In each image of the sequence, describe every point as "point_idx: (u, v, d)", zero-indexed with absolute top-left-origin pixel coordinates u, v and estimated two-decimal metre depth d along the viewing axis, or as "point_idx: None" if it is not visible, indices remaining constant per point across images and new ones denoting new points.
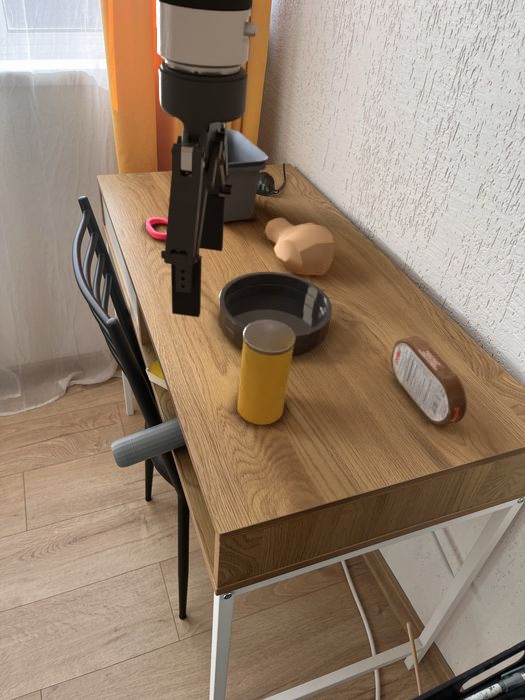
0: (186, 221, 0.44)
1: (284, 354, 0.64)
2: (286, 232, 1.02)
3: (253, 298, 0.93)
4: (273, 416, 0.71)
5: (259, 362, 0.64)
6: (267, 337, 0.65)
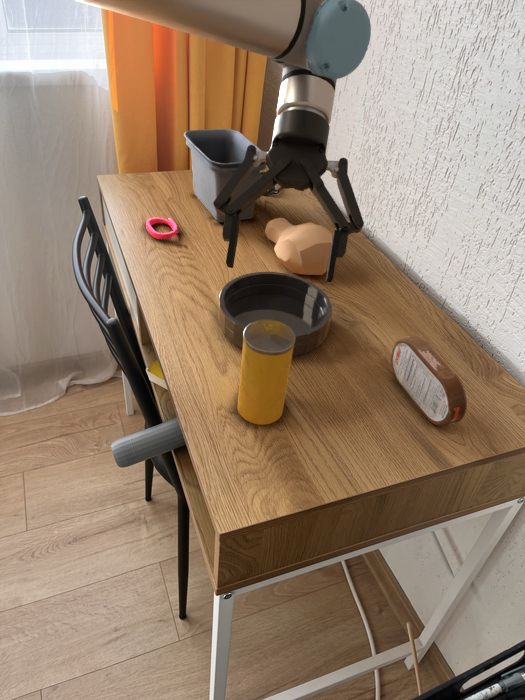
0: None
1: (284, 354, 0.64)
2: (286, 232, 1.02)
3: (253, 298, 0.93)
4: (273, 416, 0.71)
5: (259, 362, 0.64)
6: (267, 337, 0.65)
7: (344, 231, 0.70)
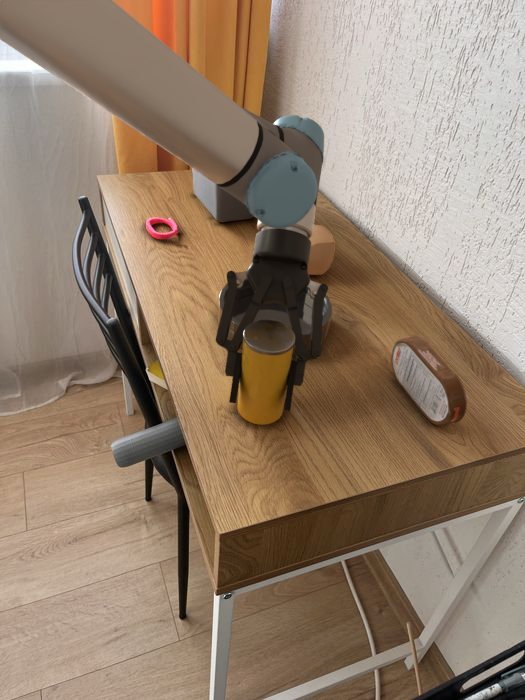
0: None
1: (284, 354, 0.64)
2: None
3: None
4: (273, 416, 0.71)
5: (259, 362, 0.64)
6: (267, 337, 0.65)
7: (300, 360, 0.68)
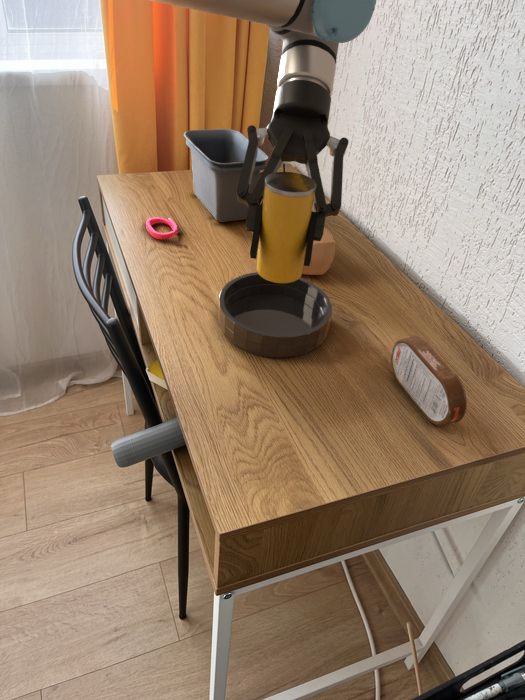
0: None
1: (305, 197, 0.64)
2: None
3: (253, 298, 0.93)
4: (292, 274, 0.71)
5: (281, 206, 0.65)
6: (288, 182, 0.65)
7: (320, 213, 0.69)
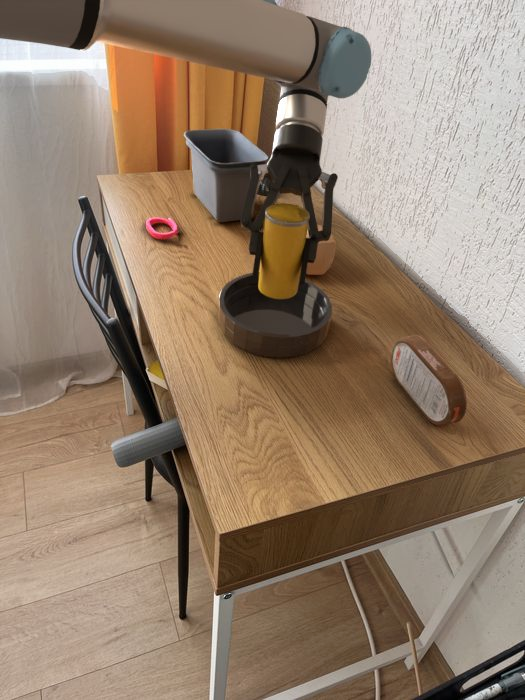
0: None
1: (300, 226, 0.75)
2: None
3: (253, 298, 0.93)
4: (289, 291, 0.82)
5: (279, 234, 0.75)
6: (286, 214, 0.76)
7: (313, 239, 0.79)
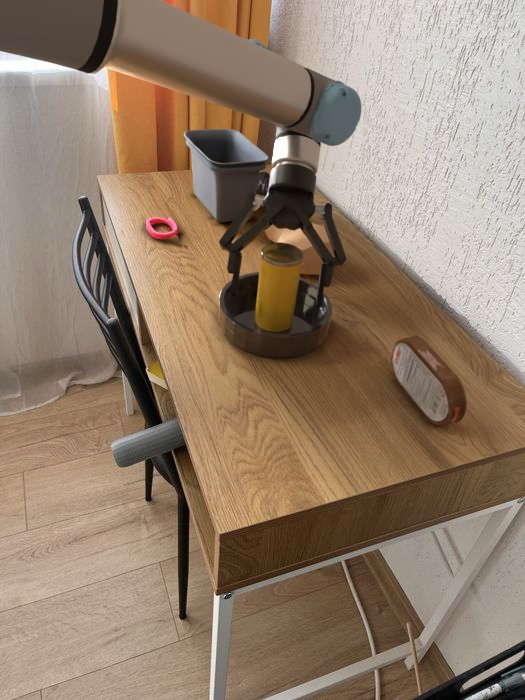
0: None
1: (294, 266, 0.79)
2: (286, 232, 1.02)
3: (253, 298, 0.93)
4: (284, 325, 0.86)
5: (274, 273, 0.79)
6: (280, 253, 0.80)
7: (330, 265, 0.83)
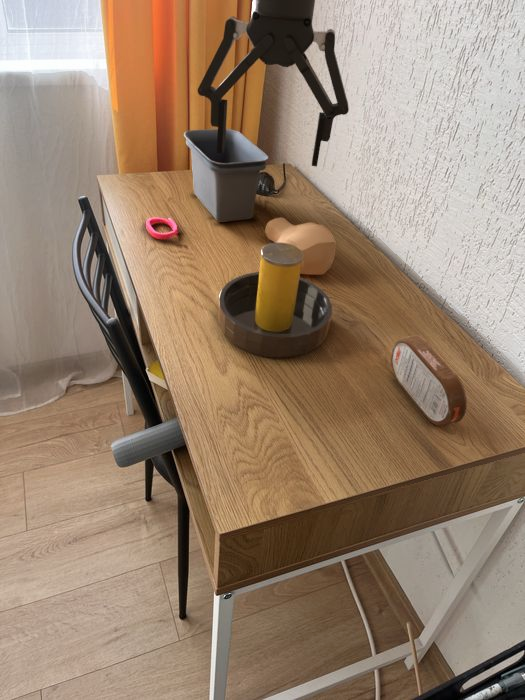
0: (341, 80, 0.69)
1: (294, 266, 0.79)
2: (287, 232, 1.02)
3: (253, 298, 0.93)
4: (284, 325, 0.86)
5: (274, 273, 0.79)
6: (280, 253, 0.80)
7: (329, 117, 0.71)
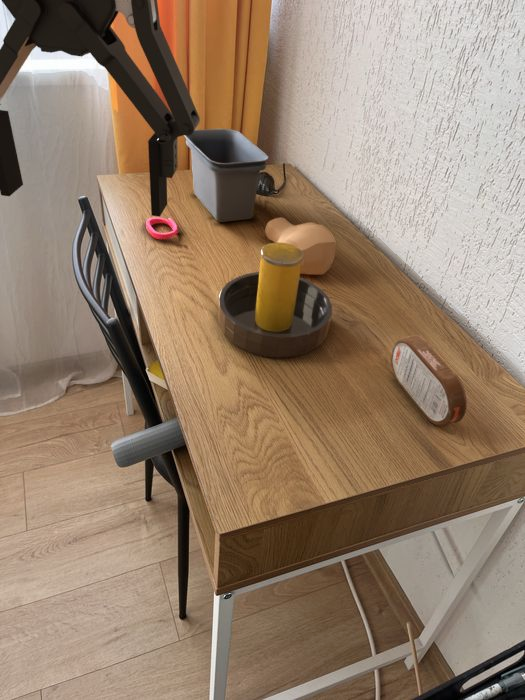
0: (179, 79, 0.41)
1: (294, 266, 0.79)
2: (287, 232, 1.02)
3: (253, 298, 0.93)
4: (284, 325, 0.86)
5: (274, 273, 0.79)
6: (280, 253, 0.80)
7: None
